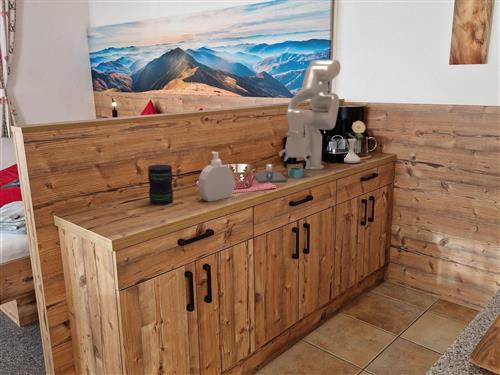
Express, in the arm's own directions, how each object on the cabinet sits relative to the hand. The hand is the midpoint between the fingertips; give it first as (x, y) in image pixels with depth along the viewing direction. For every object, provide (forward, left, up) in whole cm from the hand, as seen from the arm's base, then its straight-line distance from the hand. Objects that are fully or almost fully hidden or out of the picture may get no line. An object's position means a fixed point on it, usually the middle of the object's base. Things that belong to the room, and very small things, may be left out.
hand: (294, 168), depth 239 cm
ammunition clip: (+24, -39, -5) cm, 46 cm away
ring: (-1, +1, -5) cm, 5 cm away
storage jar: (+39, -66, -5) cm, 77 cm away
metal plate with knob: (+1, -13, -5) cm, 14 cm away
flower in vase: (-33, +44, -5) cm, 55 cm away
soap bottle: (+36, -43, -5) cm, 57 cm away
